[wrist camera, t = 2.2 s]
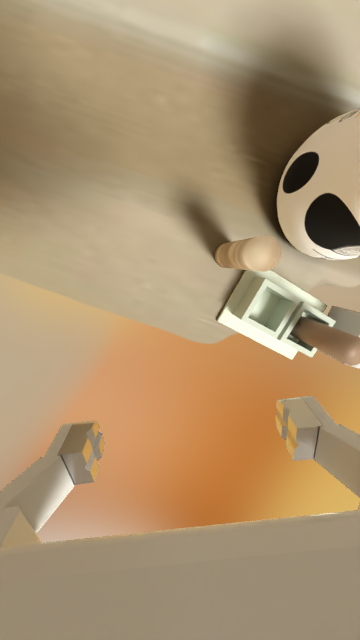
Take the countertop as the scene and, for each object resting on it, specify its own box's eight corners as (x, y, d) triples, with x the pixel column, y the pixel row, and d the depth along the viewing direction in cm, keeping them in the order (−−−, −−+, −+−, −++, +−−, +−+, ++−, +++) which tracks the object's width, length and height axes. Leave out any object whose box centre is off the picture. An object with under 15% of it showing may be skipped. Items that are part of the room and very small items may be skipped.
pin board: (216, 320, 38) (250, 349, 26) (251, 259, 36) (305, 259, 24) (289, 358, 42) (348, 398, 30) (324, 305, 40) (402, 325, 28)
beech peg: (210, 260, 35) (241, 261, 24) (222, 238, 35) (260, 228, 23) (229, 271, 36) (269, 277, 25) (241, 250, 35) (287, 246, 24)
